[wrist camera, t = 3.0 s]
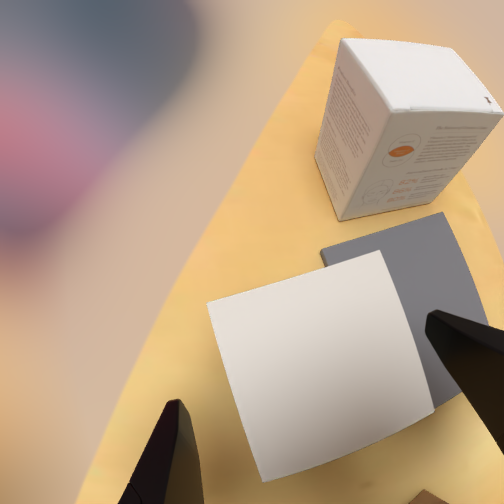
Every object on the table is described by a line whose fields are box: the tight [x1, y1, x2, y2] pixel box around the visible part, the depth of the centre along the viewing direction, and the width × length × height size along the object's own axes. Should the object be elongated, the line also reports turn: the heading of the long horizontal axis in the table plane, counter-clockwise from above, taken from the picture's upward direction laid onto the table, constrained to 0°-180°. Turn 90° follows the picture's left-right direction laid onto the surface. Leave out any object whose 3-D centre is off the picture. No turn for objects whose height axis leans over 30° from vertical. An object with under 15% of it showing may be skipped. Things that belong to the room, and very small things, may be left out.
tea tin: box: [206, 250, 435, 483], centre depth 13 cm, size 5×5×10 cm
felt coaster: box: [320, 212, 489, 409], centre depth 18 cm, size 12×10×1 cm
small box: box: [315, 38, 504, 221], centre depth 17 cm, size 8×6×10 cm
